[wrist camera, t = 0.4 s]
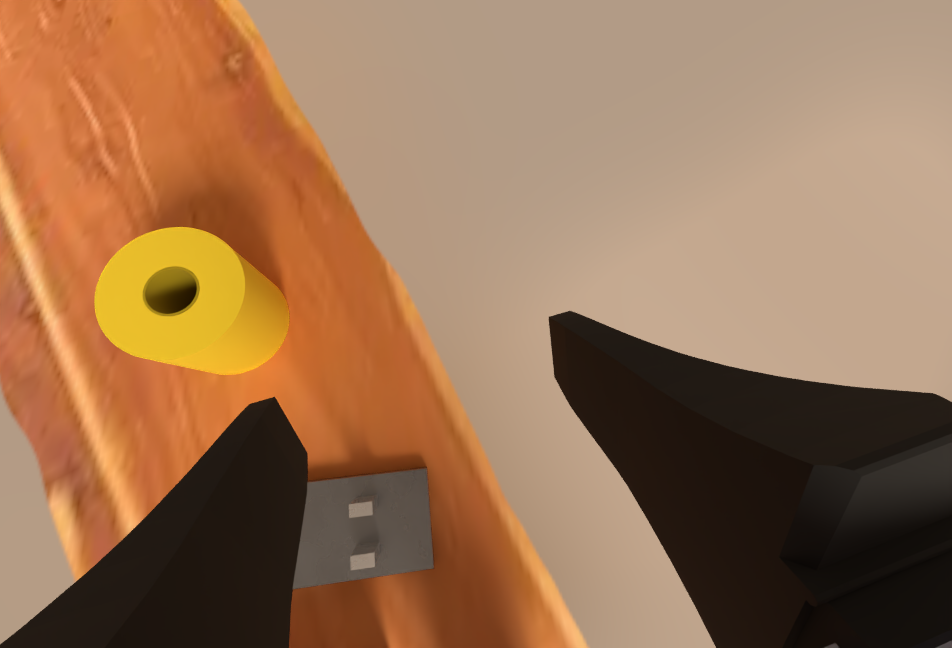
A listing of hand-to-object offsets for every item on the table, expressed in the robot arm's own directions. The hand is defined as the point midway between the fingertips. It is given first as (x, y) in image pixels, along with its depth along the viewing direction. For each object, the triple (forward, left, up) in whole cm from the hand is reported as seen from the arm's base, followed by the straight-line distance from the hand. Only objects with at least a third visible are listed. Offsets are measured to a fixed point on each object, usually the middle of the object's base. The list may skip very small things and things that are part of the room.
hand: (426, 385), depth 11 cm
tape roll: (+10, +18, -29) cm, 35 cm away
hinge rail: (-9, +11, -28) cm, 32 cm away
